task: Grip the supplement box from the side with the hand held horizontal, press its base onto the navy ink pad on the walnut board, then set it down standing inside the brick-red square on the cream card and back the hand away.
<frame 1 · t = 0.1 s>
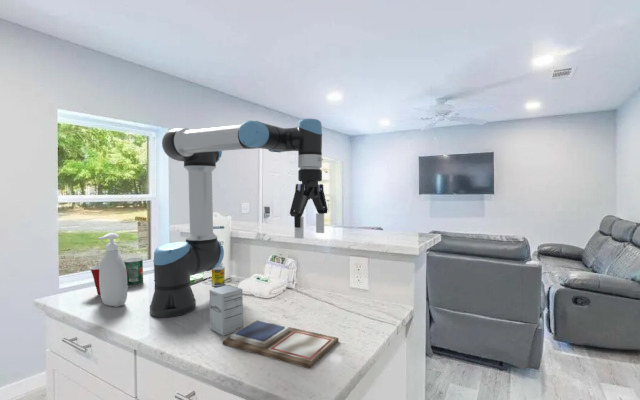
hand: (310, 235, 109), 28 cm above the worktop, tool pointing down, fingers open, 13 cm apart
supplement box: (226, 330, 105), on the worktop
dish towel: (187, 281, 162), on the worktop
supplement bottle: (218, 285, 152), on the worktop
soap bottle: (112, 305, 128), on the worktop
plastic cup: (106, 294, 141), on the worktop
stamping board: (280, 342, 95), on the worktop
canned tomato: (133, 284, 155), on the worktop
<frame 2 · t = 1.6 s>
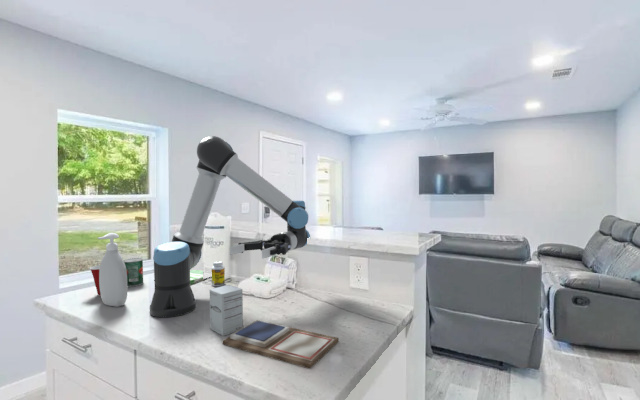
hand: (246, 252, 112), 22 cm above the worktop, tool horizontal, fingers open, 13 cm apart
nothing on the worktop moved.
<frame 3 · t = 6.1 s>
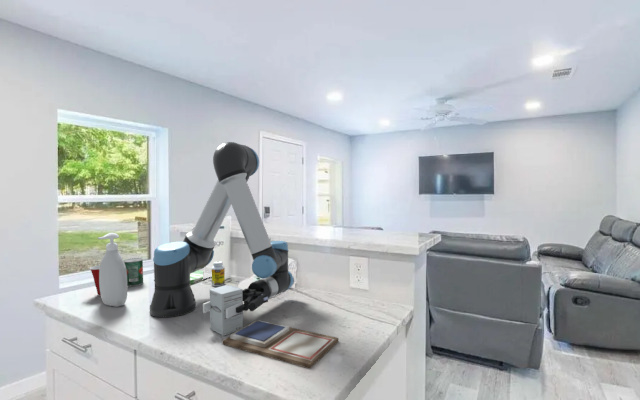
hand: (215, 311, 100), 7 cm above the worktop, tool horizontal, fingers closed on supplement box, 8 cm apart
supplement box: (226, 329, 105), on the worktop, touching gripper
everything else where it was.
when the fingers open (8 cm above the worktop, at t = 16.9 s): supplement box stays where it is, resting on stamping board.
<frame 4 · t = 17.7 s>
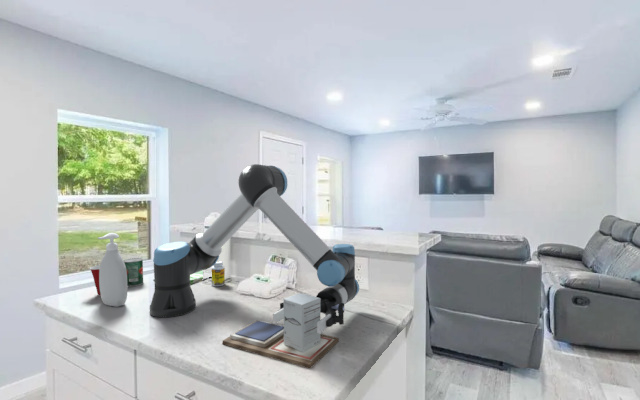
hand: (295, 323, 89), 8 cm above the worktop, tool horizontal, fingers open, 13 cm apart
supplement box: (302, 344, 92), point 1 cm above the worktop, touching stamping board
everything else where it was.
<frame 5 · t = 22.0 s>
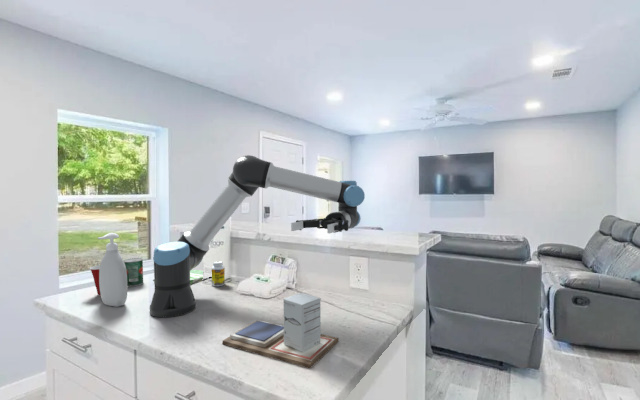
hand: (309, 228, 111), 30 cm above the worktop, tool horizontal, fingers open, 13 cm apart
nothing on the worktop moved.
at the end: supplement box 0.1 cm from the target spot on the stamping board, point 0.9 cm above the stamping board's base; supplement box tilted 0°; the gripper is holding nothing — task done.
